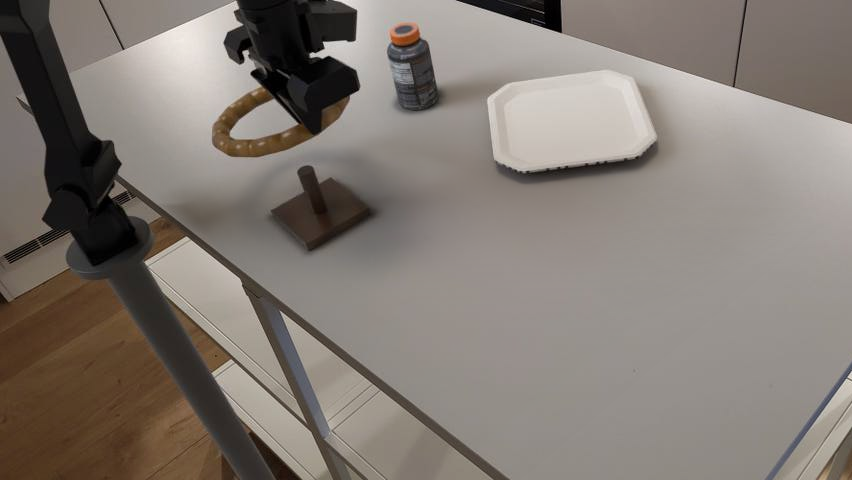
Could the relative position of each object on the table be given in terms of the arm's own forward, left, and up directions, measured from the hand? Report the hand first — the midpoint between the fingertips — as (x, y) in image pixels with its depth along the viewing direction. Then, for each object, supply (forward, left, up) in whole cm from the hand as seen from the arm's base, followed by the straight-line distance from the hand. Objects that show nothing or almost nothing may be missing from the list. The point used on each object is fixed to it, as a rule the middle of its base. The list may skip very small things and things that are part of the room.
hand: (311, 129), depth 85 cm
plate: (+31, -8, -13) cm, 35 cm away
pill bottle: (+22, +14, -13) cm, 29 cm away
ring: (0, +8, -1) cm, 8 cm away
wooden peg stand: (-2, +2, -13) cm, 13 cm away
